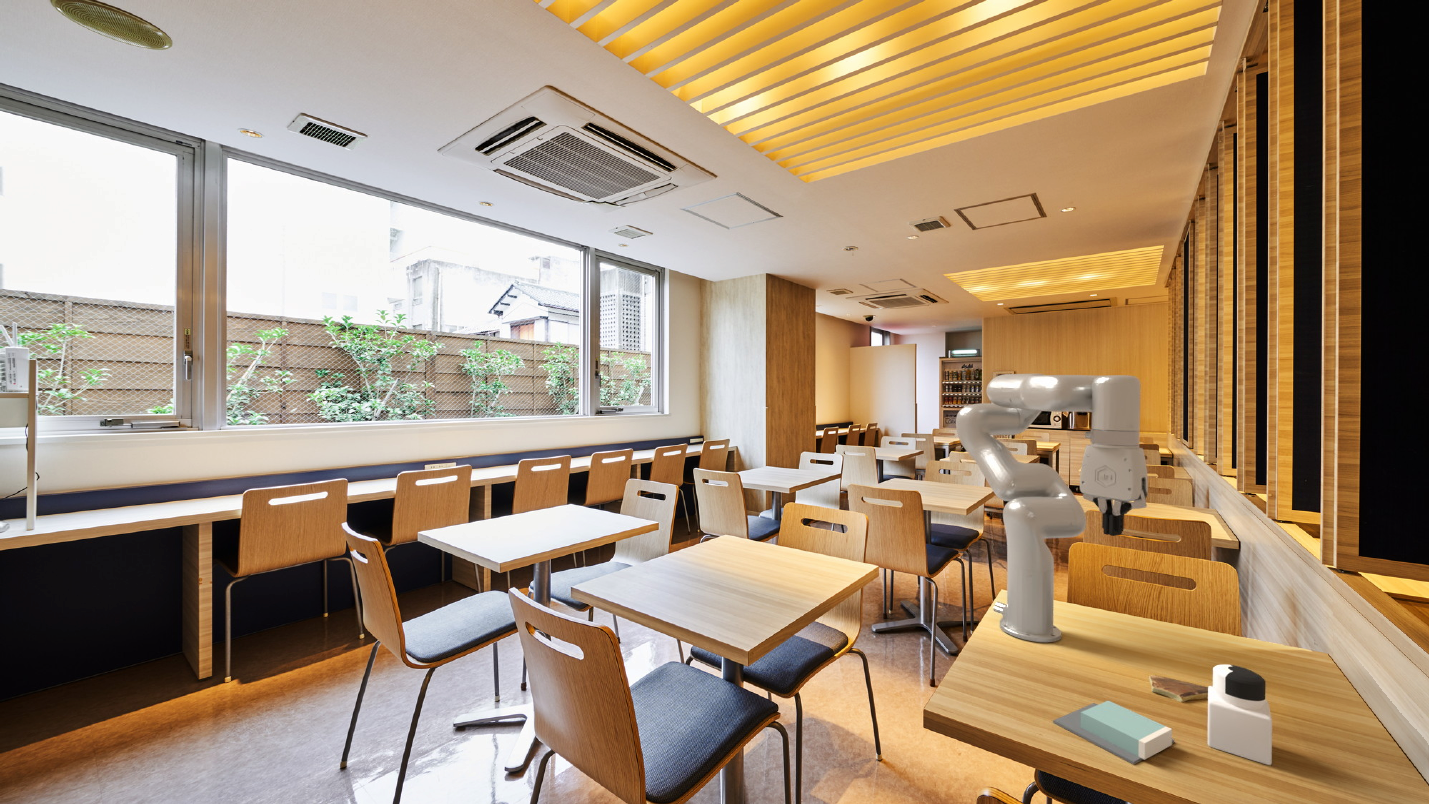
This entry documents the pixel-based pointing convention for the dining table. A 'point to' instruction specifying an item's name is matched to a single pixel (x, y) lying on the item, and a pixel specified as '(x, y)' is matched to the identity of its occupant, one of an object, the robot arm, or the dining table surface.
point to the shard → (1177, 688)
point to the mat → (1093, 735)
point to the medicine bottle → (1239, 714)
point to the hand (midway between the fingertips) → (1112, 534)
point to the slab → (1126, 729)
